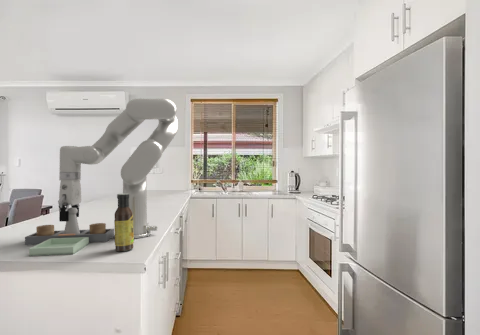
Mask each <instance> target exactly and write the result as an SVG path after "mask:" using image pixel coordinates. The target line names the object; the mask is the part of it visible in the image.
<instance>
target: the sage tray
mask: <svg viewBox="0 0 480 335" xmlns="http://www.w3.org/2000/svg"><path fill="white" fill-rule="evenodd" d="M89 244H90V242H89V237H78V238H51V239H48V240H46V241H44V242H42V243H40V244H35V245H33V246H32V247H29V248H28V249H29V250H28V255H29V257H40V256H62V255H63V256H65V255H67V256H68V255H75V254H76V253H78V252H79V251H80V250H83V248H85V247H86V246H88V245H89Z"/></svg>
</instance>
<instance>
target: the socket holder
mask: <svg viewBox="0 0 480 335" xmlns="http://www.w3.org/2000/svg"><path fill="white" fill-rule="evenodd" d="M64 230H65V229H64ZM64 230H54V234H53V235H51V236H37V231H36V232H33V233H31V234H28V235H26V236H25V237H24V245H25V246H26V245H27V246H28V245H30V246H31V245H33V246H34V245H38V244H40V243H42V242H44V241H46V240H48V239H51V238H78V237H89V243H102V242H103V243H105V242H108V241H110V240H111V239H112V238H113V237H115V228H106V233H105V234H90V229H79V230H80V234H78V235H76V234H64Z"/></svg>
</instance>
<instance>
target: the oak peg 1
mask: <svg viewBox="0 0 480 335" xmlns="http://www.w3.org/2000/svg"><path fill="white" fill-rule="evenodd" d="M35 230H36V232H37V236H51V235H53V234H54V231H55V224H44V225H43V224H42V225H38V226H36V229H35Z"/></svg>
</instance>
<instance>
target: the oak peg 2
mask: <svg viewBox="0 0 480 335" xmlns="http://www.w3.org/2000/svg"><path fill="white" fill-rule="evenodd" d="M106 227H107V224H106V223H105V222H104V223H103V222H96V223H91V224H89V230H90V234H105V233H106V229H107V228H106Z"/></svg>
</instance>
